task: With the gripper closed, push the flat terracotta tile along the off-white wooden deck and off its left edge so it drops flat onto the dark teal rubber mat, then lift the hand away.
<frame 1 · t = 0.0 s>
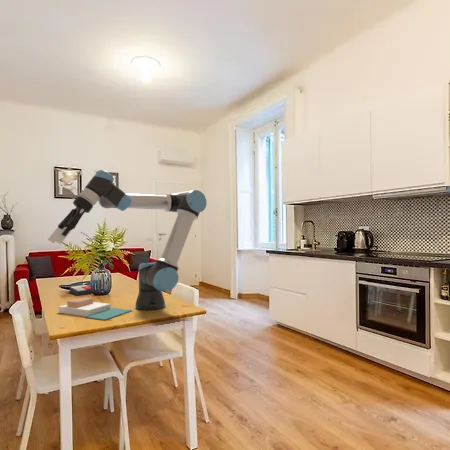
hand: (53, 242, 132), 36 cm above the table, tool tilted 35°, fingers open, 13 cm apart
deck: (84, 311, 163), on the table
mat: (109, 314, 157), on the table
calculator: (82, 293, 211), on the table
tile: (80, 304, 165), point 3 cm above the table, touching deck
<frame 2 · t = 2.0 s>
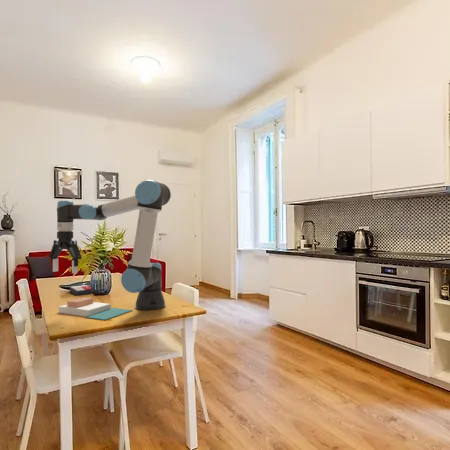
hand: (64, 272, 168), 19 cm above the table, tool pointing down, fingers open, 13 cm apart
nothing on the table moved.
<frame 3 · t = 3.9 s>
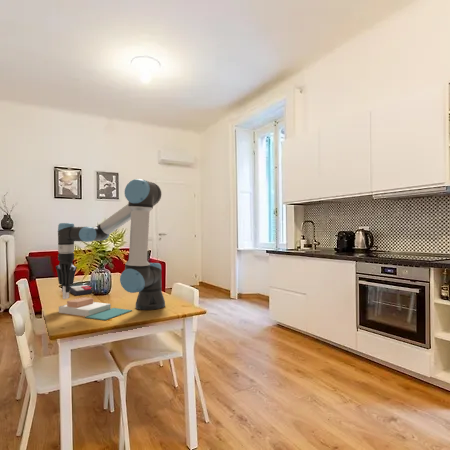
hand: (65, 298, 169), 5 cm above the table, tool pointing down, fingers closed
nothing on the table moved.
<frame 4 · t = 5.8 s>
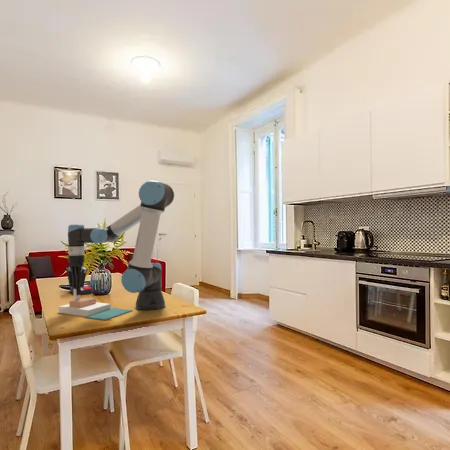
hand: (76, 301, 166), 5 cm above the table, tool pointing down, fingers closed
tile: (82, 304, 164), point 3 cm above the table, touching deck, gripper
everything else where it was.
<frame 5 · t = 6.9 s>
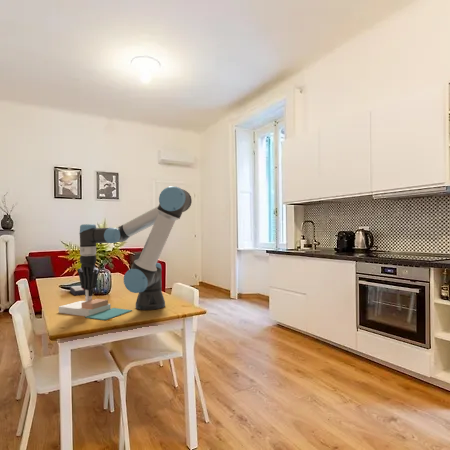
hand: (88, 302, 162), 5 cm above the table, tool pointing down, fingers closed
tile: (95, 306, 161), point 3 cm above the table, touching deck, gripper
everything else where it was.
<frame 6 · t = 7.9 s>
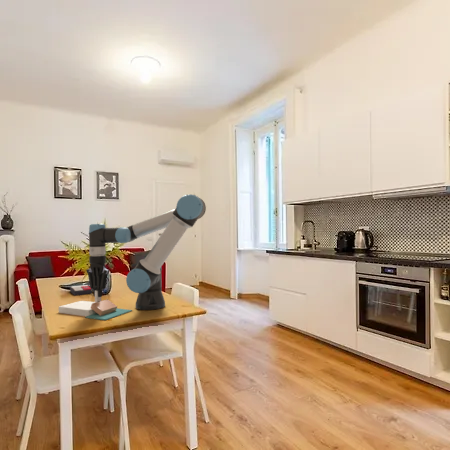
hand: (98, 303, 160), 5 cm above the table, tool pointing down, fingers closed
tile: (103, 309, 158), point 2 cm above the table, tilted 25°, touching deck, gripper, mat
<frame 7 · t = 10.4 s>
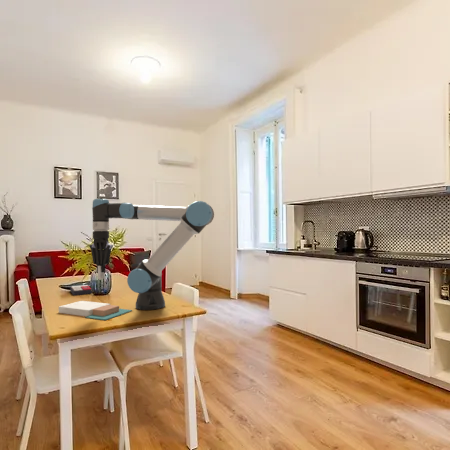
hand: (101, 278, 159), 17 cm above the table, tool pointing down, fingers closed
tile: (106, 312, 158), resting on mat
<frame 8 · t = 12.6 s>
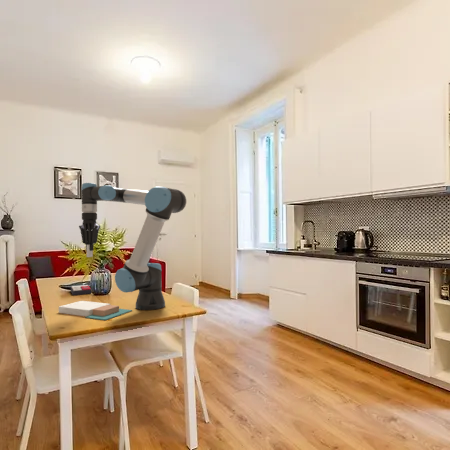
hand: (89, 256, 173), 26 cm above the table, tool pointing down, fingers closed
at the end: tile inside the target area on the mat (2.1 cm from its centre), point 0.5 cm above the mat's base; tile point 0.5 cm above the table; tile tilted 0° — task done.
